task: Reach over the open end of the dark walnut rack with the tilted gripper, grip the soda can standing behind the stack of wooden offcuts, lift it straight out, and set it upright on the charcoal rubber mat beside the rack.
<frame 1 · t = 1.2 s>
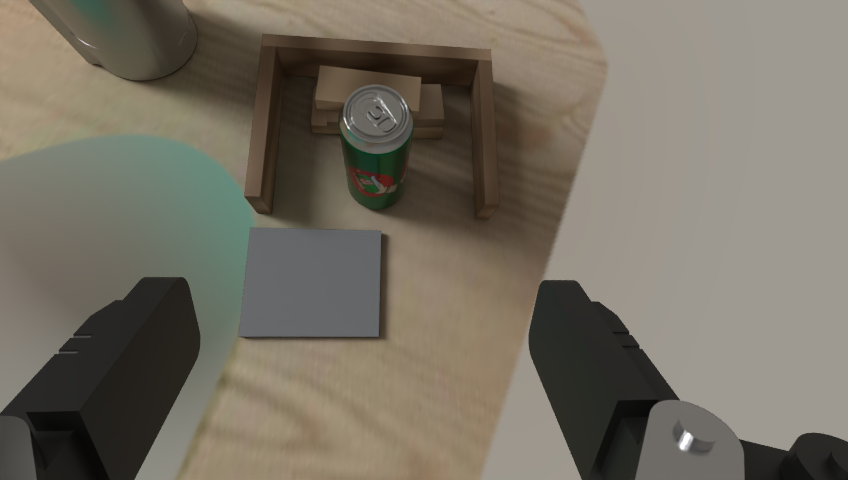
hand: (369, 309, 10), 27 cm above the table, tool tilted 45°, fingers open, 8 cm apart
soda can: (376, 186, 40), on the table
offcut stack: (378, 117, 42), on the table
rack: (377, 145, 41), on the table
mat: (314, 282, 37), on the table
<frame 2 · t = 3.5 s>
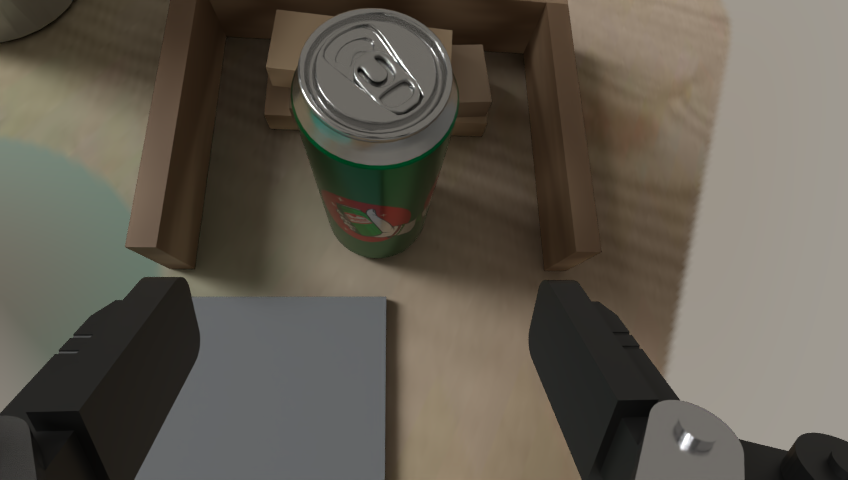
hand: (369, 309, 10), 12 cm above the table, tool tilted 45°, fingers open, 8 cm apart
soda can: (377, 216, 24), on the table
offcut stack: (378, 102, 26), on the table
rack: (378, 148, 25), on the table
mat: (267, 394, 20), on the table
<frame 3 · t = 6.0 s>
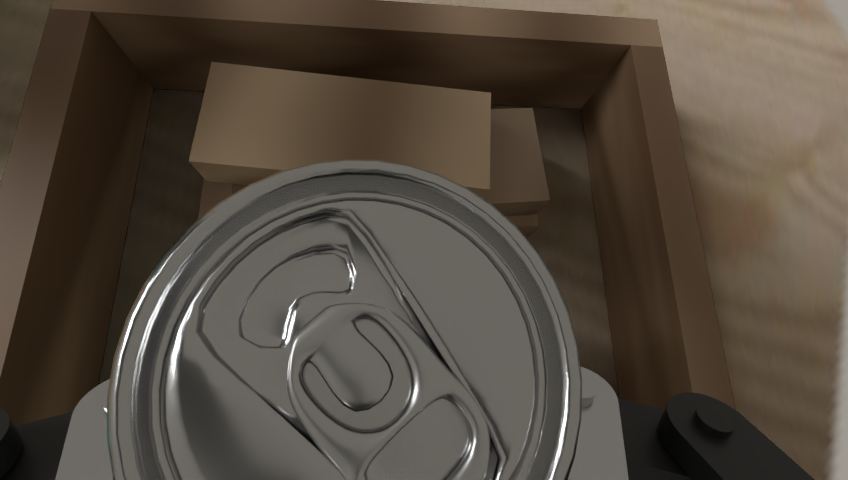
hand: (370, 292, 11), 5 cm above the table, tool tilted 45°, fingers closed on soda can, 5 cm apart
soda can: (372, 369, 16), on the table, touching gripper
offcut stack: (376, 186, 17), on the table
rack: (374, 259, 17), on the table
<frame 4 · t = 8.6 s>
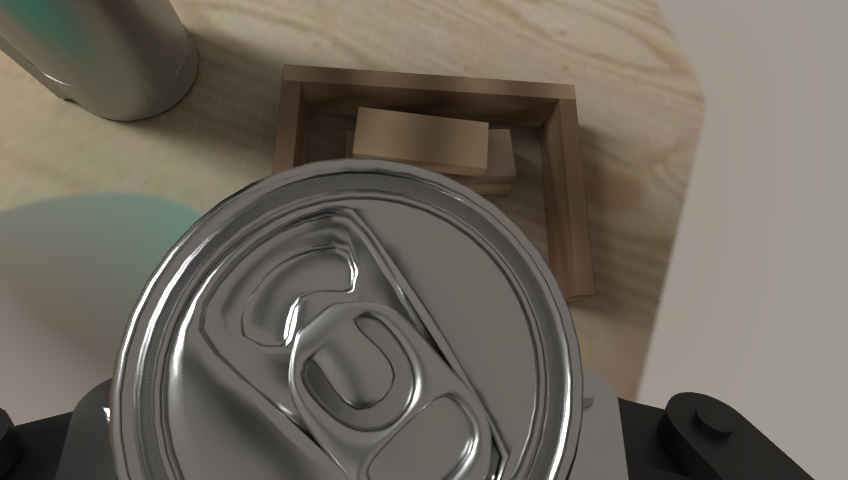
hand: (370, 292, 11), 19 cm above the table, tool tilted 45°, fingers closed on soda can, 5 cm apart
soda can: (373, 369, 16), point 14 cm above the table, touching gripper
offcut stack: (427, 167, 33), on the table
rack: (427, 205, 32), on the table
when the fingers open (7 cm above the table, at t = 11.5 s): soda can stays where it is, resting on mat.
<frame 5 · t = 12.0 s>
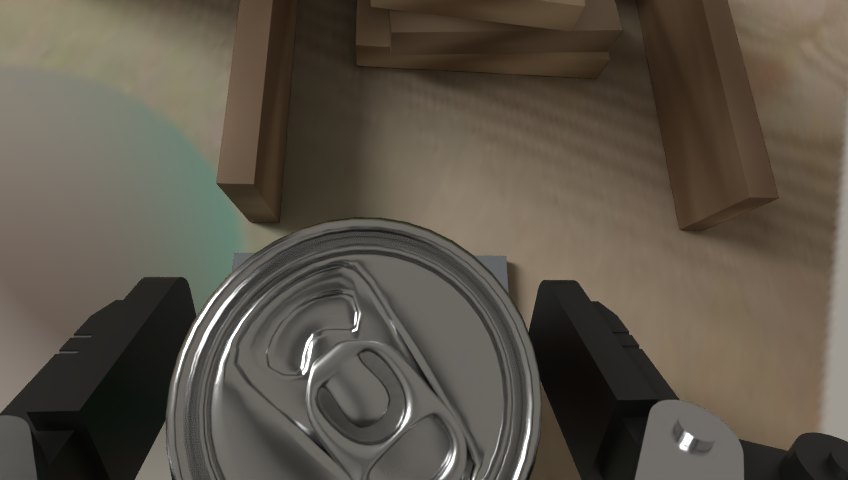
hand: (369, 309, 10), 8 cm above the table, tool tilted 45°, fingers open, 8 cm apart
soda can: (372, 374, 17), resting on mat
offcut stack: (477, 38, 22), on the table
rack: (480, 89, 21), on the table
mat: (372, 369, 17), on the table
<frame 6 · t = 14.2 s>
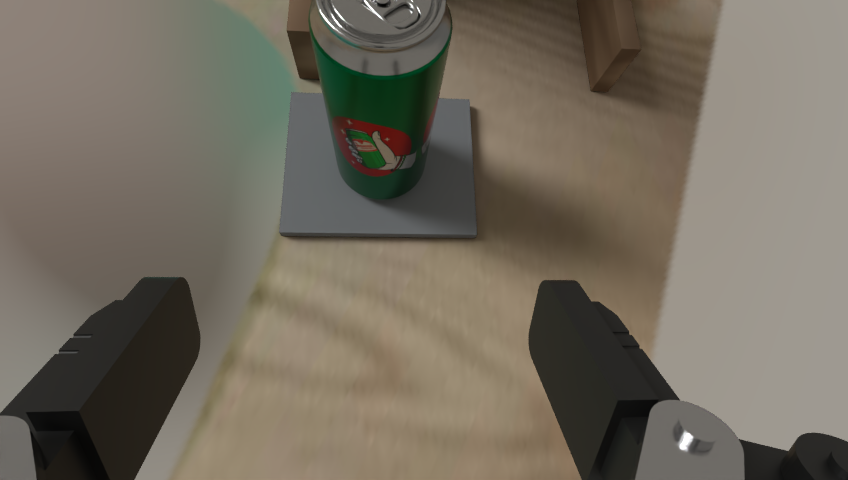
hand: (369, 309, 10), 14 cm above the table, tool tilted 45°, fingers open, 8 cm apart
soda can: (381, 165, 26), resting on mat
rack: (454, 0, 31), on the table
mat: (381, 165, 26), on the table
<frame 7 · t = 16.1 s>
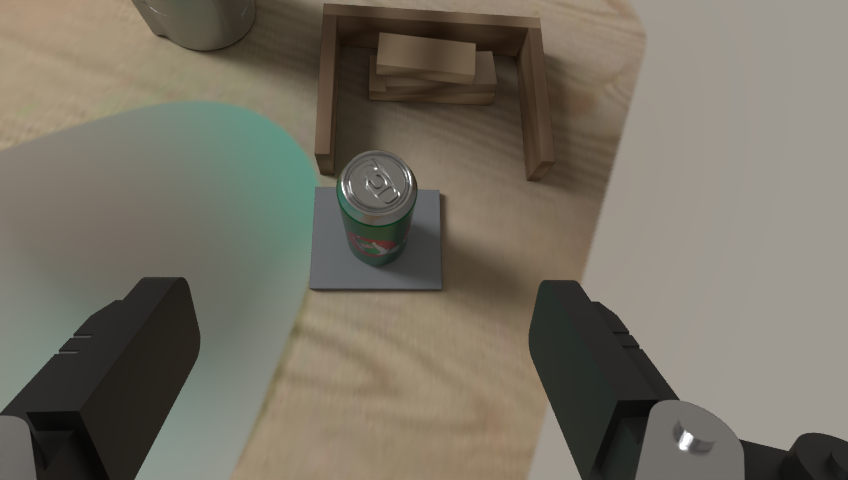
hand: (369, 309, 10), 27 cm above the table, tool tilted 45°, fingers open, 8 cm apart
soda can: (377, 239, 38), resting on mat
offcut stack: (430, 84, 43), on the table
rack: (431, 111, 43), on the table
mat: (377, 238, 38), on the table
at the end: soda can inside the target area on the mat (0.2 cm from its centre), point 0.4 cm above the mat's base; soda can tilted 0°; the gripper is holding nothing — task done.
